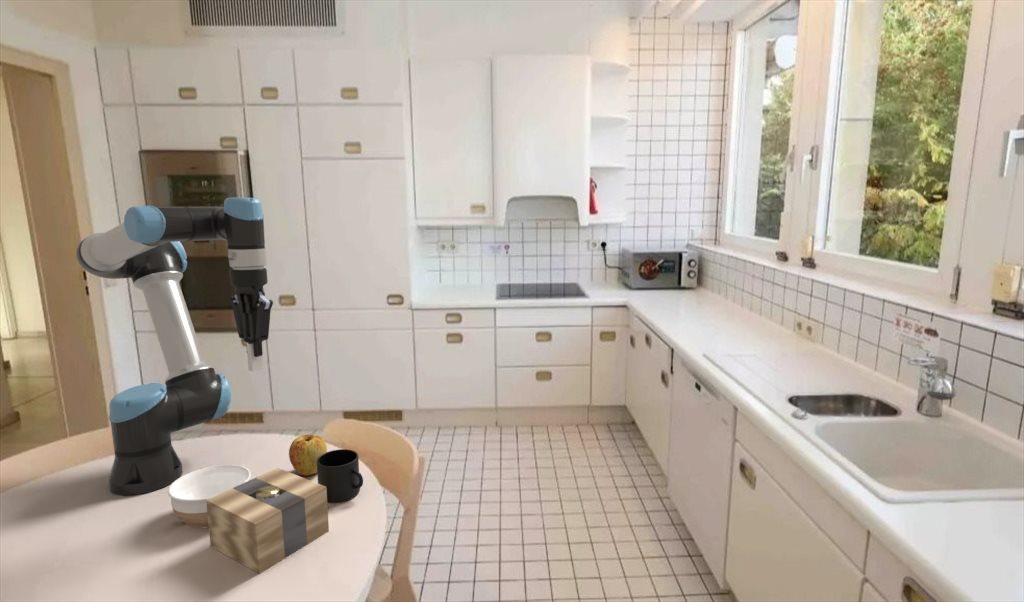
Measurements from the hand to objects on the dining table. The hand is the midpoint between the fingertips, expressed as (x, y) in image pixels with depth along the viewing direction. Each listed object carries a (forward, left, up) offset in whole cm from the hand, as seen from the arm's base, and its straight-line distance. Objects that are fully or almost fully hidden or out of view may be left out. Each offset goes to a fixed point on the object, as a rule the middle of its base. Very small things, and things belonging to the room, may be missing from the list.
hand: (255, 369), depth 124 cm
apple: (+1, +12, -31) cm, 33 cm away
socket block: (+18, -11, -30) cm, 37 cm away
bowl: (-1, -12, -31) cm, 33 cm away
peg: (+18, -11, -29) cm, 36 cm away
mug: (+17, +9, -31) cm, 36 cm away
